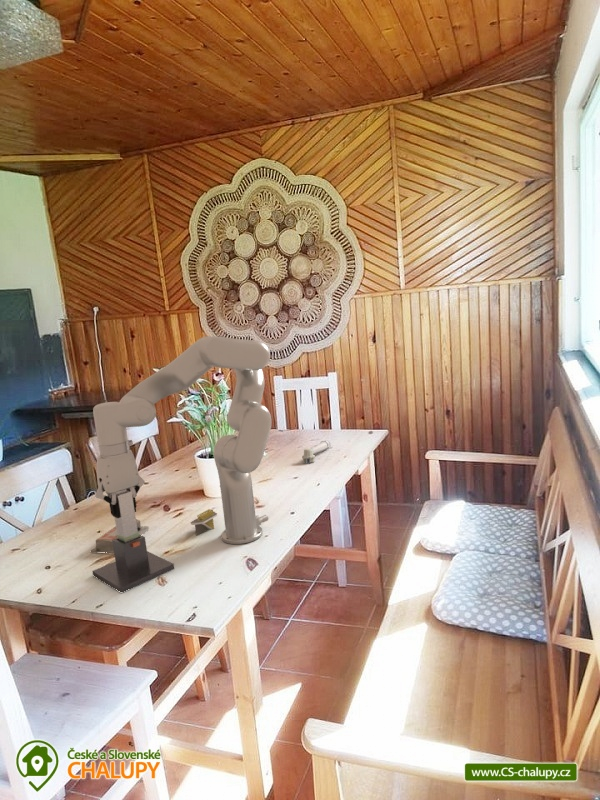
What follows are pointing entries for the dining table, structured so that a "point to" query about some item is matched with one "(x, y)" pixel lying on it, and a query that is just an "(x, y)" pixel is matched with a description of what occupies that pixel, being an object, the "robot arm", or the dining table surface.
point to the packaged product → (106, 540)
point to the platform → (204, 521)
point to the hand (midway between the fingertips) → (124, 513)
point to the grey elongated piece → (314, 451)
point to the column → (126, 517)
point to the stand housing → (132, 565)
